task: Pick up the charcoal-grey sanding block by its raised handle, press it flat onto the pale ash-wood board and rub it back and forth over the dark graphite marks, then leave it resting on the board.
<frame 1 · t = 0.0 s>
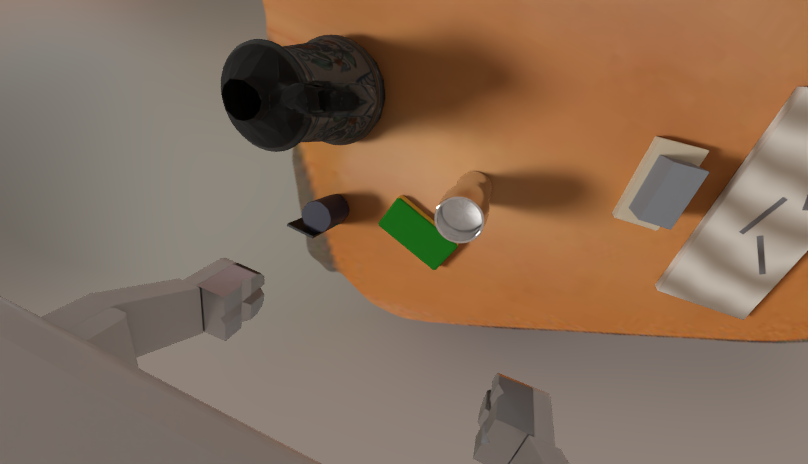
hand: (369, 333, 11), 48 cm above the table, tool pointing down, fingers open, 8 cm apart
sanding block: (653, 182, 48), on the table
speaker: (334, 205, 67), on the table
marked board: (763, 214, 46), on the table
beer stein: (350, 88, 57), on the table
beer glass: (473, 188, 57), on the table
dish sponge: (420, 229, 64), on the table
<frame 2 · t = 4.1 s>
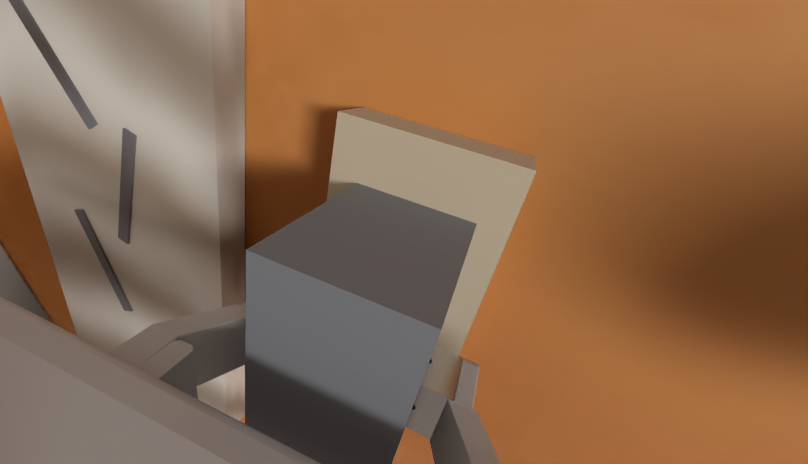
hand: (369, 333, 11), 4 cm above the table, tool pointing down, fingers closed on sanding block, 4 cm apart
sanding block: (406, 273, 14), on the table, touching gripper
marked board: (143, 176, 17), on the table
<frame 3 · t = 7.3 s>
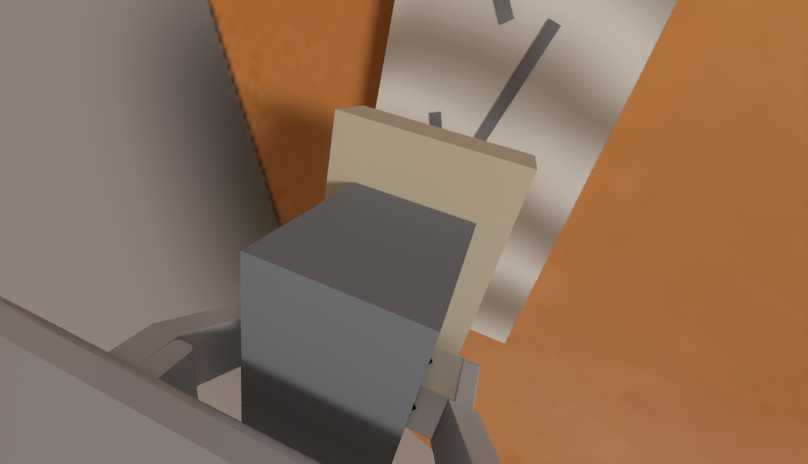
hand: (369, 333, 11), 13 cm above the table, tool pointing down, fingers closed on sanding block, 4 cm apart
sanding block: (405, 274, 14), point 9 cm above the table, touching gripper
marked board: (497, 81, 18), on the table
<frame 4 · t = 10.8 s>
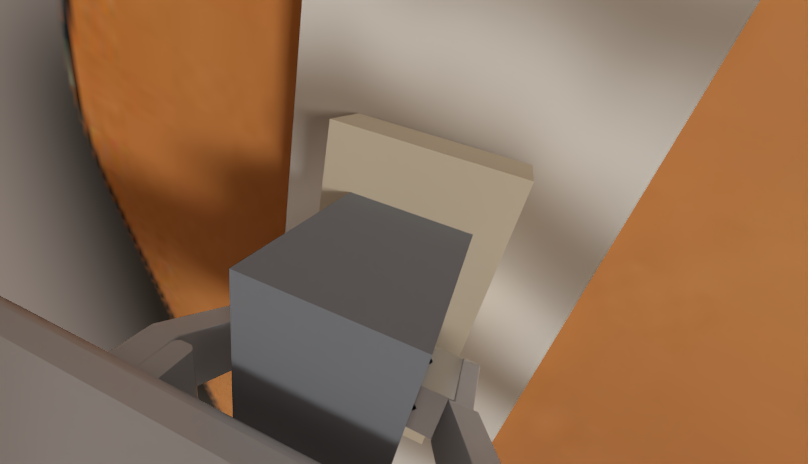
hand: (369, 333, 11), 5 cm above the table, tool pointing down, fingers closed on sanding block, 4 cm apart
sanding block: (401, 282, 14), point 2 cm above the table, touching gripper
marked board: (405, 310, 17), on the table
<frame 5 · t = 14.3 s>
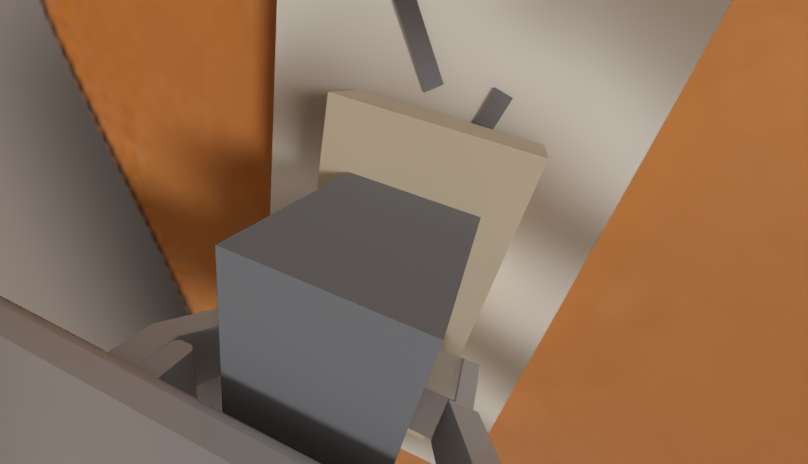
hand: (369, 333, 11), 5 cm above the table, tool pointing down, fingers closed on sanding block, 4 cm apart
sanding block: (403, 271, 13), point 2 cm above the table, touching gripper
marked board: (433, 159, 13), on the table
when the fingers open (5 cm above the table, at t = 17.5 s): sanding block stays where it is, resting on marked board.
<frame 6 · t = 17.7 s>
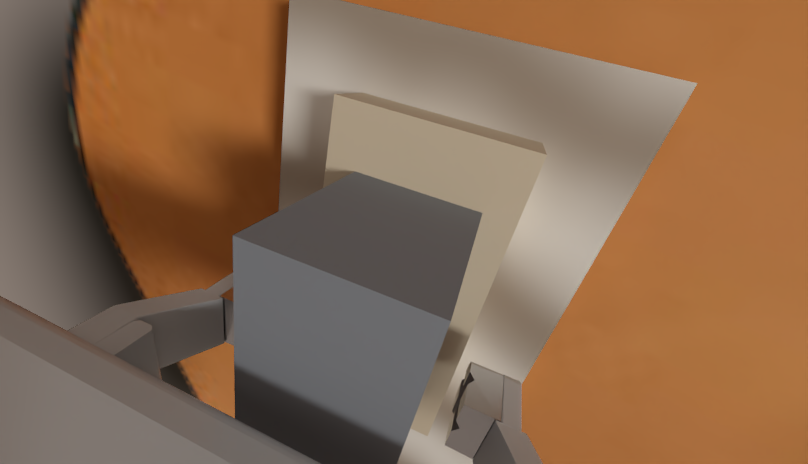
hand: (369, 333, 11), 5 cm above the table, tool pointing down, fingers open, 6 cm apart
sanding block: (406, 269, 13), point 2 cm above the table, touching marked board
marked board: (387, 355, 18), on the table
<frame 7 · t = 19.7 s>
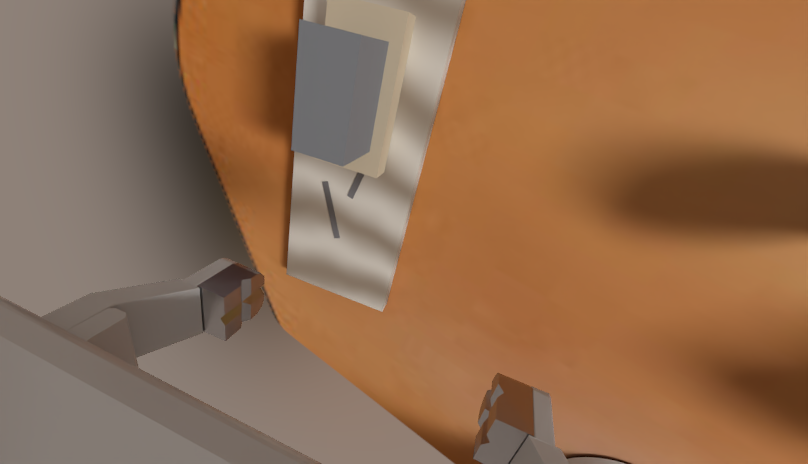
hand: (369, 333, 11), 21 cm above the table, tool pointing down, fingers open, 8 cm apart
sanding block: (364, 92, 28), point 2 cm above the table, touching marked board
marked board: (359, 163, 32), on the table
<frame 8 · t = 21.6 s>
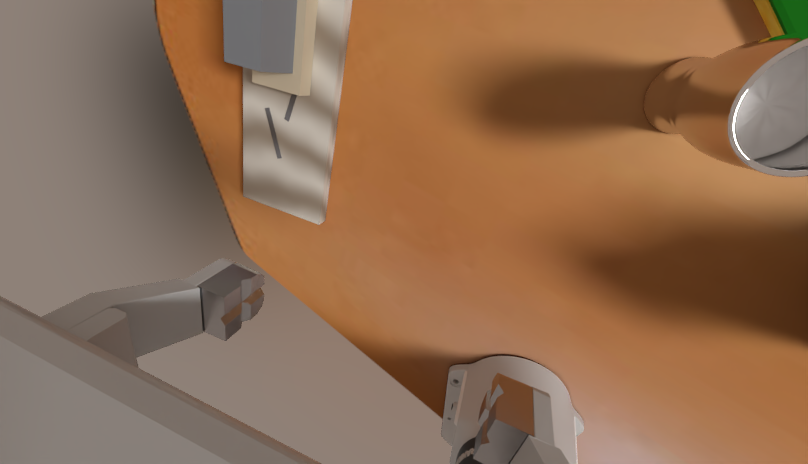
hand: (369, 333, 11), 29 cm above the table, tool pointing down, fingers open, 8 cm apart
sanding block: (290, 28, 36), point 2 cm above the table, touching marked board
marked board: (294, 93, 40), on the table
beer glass: (684, 96, 29), on the table
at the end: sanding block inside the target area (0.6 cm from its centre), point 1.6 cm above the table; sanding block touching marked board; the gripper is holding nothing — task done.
